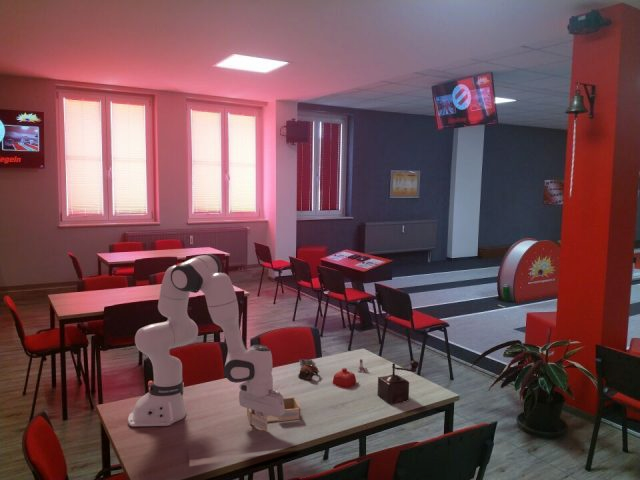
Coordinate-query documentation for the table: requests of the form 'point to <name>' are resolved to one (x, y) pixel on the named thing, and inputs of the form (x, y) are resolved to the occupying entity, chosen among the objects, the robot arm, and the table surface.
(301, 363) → the egg carton
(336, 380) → the butter dish
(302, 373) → the pottery mug
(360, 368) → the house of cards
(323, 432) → the table surface
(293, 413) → the right flap
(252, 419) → the left flap
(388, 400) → the manual coffee grinder
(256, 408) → the robot arm
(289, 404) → the carton
